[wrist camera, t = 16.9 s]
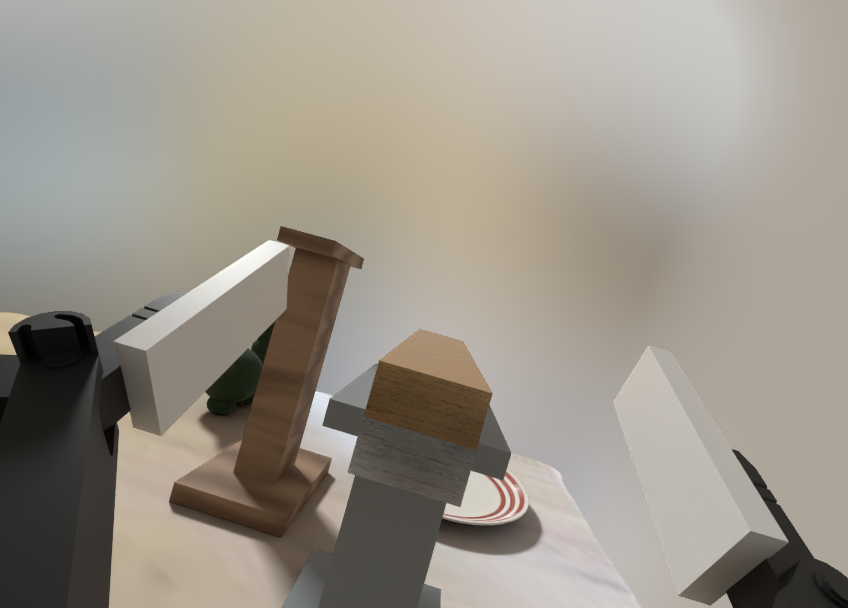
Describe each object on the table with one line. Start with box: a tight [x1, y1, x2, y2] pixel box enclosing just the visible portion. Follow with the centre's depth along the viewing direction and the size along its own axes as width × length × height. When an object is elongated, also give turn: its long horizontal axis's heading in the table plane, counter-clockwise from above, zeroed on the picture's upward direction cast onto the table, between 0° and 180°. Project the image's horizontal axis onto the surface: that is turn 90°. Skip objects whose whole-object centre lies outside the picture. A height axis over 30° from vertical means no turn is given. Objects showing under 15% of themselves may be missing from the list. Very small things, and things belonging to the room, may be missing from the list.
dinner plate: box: [353, 444, 529, 525], centre depth 61 cm, size 28×27×3 cm
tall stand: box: [169, 226, 364, 537], centre depth 48 cm, size 16×12×30 cm
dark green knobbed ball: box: [205, 320, 276, 415], centre depth 71 cm, size 9×19×25 cm
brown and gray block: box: [348, 329, 492, 507], centre depth 25 cm, size 22×4×4 cm, turn 177°
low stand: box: [282, 364, 511, 608], centre depth 28 cm, size 16×12×20 cm
